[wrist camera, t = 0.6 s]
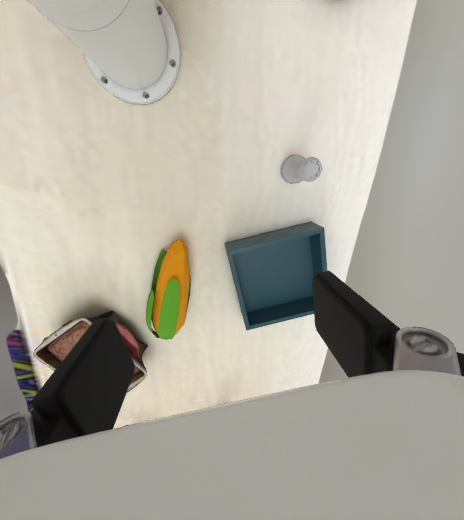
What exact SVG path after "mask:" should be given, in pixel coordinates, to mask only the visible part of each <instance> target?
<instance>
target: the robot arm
mask: <svg viewBox="0 0 464 520" xmlns="http://www.w3.org/2000/svg"><path fill="white" fill-rule="evenodd" d="M28 1H29V2H30V3H31V4H32V5H33V6H34V7H35V8H36V9H37V10H38V11H39V12H40V13H41V14H42V15H43V16H45V17H46V18H47V19H48V20H49V21H50V22H51V23H52V24H53V25H54V26H55V27H56V28H57V29H58V30H60V31H61V32H62V33H63V34H64V35H65V36H66V37H67V38H68V39H69V40H70V41H71V42H72V43H74V44H75V45H76V46H77V47H78V48H79V49H80V50H81V51H82V52H83V55H84V58H85V60H86V62H87V65H88V67H89V69H90V70H91V72H92V74H93V75H94V77H95V78H96V79H97V80H98V82H99V83H100V84H101V85H102V86H103V87H104V88H105V89H106V90H107V91H109V92H110V93H111V94H113V95H114V96H115V97H117V98H119V99H121V100H123V101H125V102H128V103H132V104H149V103H153V102H155V101H157V100H159V99H161V98H162V97H163V96H165V95H166V94H167V92H168V91H169V90H170V89H171V88H172V86H173V84H174V82H175V80H176V78H177V74H178V71H179V65H180V47H179V41H178V36H177V33H176V29H175V26H174V24H173V22H172V19H171V17H170V15H169V14H168V12H167V10H166V9H165V7H164V6H163V5H162V4H161V2H160V1H159V0H28ZM159 12H161V13H162V14H160V15H158V13H159ZM172 64H175V67H172ZM106 80H108V82H107V83H105V81H106ZM146 95H148V96H149V98H148V99H146ZM312 285H313V300H314V315H315V326H316V329H317V331H318V333H319V334H320V336H321V337H322V339H323V340H324V342H325V343H326V345H327V346H328V348H329V349H330V351H331V352H332V354H333V355H334V357H335V358H336V360H337V361H338V363H339V364H340V366H341V367H342V369H343V370H344V372H345V373H346V375H347V376H348V378H345V379H339V380H335V381H330V382H325V383H320V384H315V385H310V386H305V387H301V388H296V389H291V390H287V391H282V392H277V393H273V394H268V395H263V396H259V397H254V398H249V399H245V400H240V401H236V402H231V403H227V404H222V405H218V406H213V407H208V408H204V409H199V410H195V411H190V412H186V413H181V414H177V415H173V416H168V417H164V418H159V419H155V420H150V421H146V422H142V423H137V424H133V425H128V426H124V427H120V428H115V429H113V427H114V424H115V422H116V419H117V416H118V414H119V411H120V408H121V406H122V403H123V401H124V398H125V395H126V393H127V390H128V387H129V385H130V382H131V379H132V377H133V374H134V371H135V365H134V362H133V360H132V358H131V356H130V353H129V351H128V349H127V347H126V345H125V343H124V341H123V338H122V336H121V334H120V332H119V330H118V328H117V325H116V323H115V322H114V321H113V320H110V319H109V318H105V319H101V320H96V321H94V322H93V323H92V324H91V325H90V326H89V328H88V329H87V330H86V332H85V333H84V334H83V335H82V337H81V338H80V339H79V341H78V342H77V343H76V344H75V346H74V347H73V348H72V350H71V351H70V352H69V353H68V355H67V356H66V357H65V359H64V360H63V361H62V362H61V364H60V365H59V366H58V368H57V369H56V370H55V371H54V373H53V374H52V375H51V377H50V378H49V379H48V380H47V382H46V383H45V384H44V385H43V387H42V388H41V389H40V391H39V392H38V393H37V394H36V396H35V397H34V398H33V400H32V401H31V402H30V403H31V404H32V405H33V407H34V409H33V410H32V412H31V413H30V412H27V411H23V412H18V413H15V414H13V415H11V416H9V417H7V418H5V419H3V420H2V421H0V520H464V354H461V353H457V352H456V348H455V346H454V345H453V343H452V342H451V341H450V340H449V339H448V338H447V337H445V336H443V335H442V334H440V333H438V332H436V331H433V330H430V329H427V328H422V327H406V328H402V329H400V328H399V327H397V326H396V325H395V324H394V323H392V322H391V321H390V320H389V319H387V318H386V317H385V316H384V315H383V314H381V313H380V312H379V311H378V310H377V309H375V308H374V307H373V306H372V305H371V304H369V303H368V302H367V301H365V299H363V298H362V297H361V296H360V295H358V294H357V293H356V292H354V291H353V290H352V289H351V288H350V287H348V286H347V285H346V284H345V283H344V282H342V281H341V280H340V279H339V278H338V277H336V276H335V275H334V274H333V273H331V272H330V271H325V272H320V273H316V275H315V277H313V278H312Z"/></svg>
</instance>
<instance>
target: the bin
mask: <svg viewBox="0 0 464 520" xmlns="http://www.w3.org/2000/svg"><path fill="white" fill-rule="evenodd" d="M225 246H226V251H227V255H228V259H229V263H230V267H231V271H232V275H233V279H234V283H235V287H236V291H237V295H238V299H239V303H240V307H241V311H242V315H243V319H244V323H245V327H246V330H250V329H254V328H258V327H262V326H266V325H270V324H274V323H278V322H282V321H286V320H290V319H294V318H298V317H302V316H306V315H310V314H314V300H313V285H312V278H313V277H315V275H316V273H320V272H325V271H327V263H326V249H325V235H324V228H323V227H321V226H319V225H317V224H315V223H313V222H308V223H304V224H300V225H296V226H292V227H288V228H283V229H279V230H275V231H271V232H267V233H263V234H259V235H255V236H251V237H247V238H243V239H239V240H235V241H231V242H227V243H225Z"/></svg>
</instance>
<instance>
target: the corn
mask: <svg viewBox="0 0 464 520" xmlns="http://www.w3.org/2000/svg"><path fill="white" fill-rule="evenodd" d="M189 296H190V274H189V264H188V253H187V247H186V245H185V243H184V242H183V241H182V240H177V241H176V242H174V243H173V244H172V245H171V246H170V248H169V250H168V252H167V254H166V251H165V250H162V251H161V253H160V255H159V257H158V260H157V263H156V266H155V270H154V275H153V281H152V288H151V292H150V294H149V297H148V301H147V308H146V322H147V325H148V328H149V330H150V331H151V332H152V333H153V334H154V335H155V336H156V337H157V338H161V339H172V338H173V337H174V335H176V334H177V332H178V331H179V330H180V329H181V327H182V326H183V325H184V322H185V318H186V312H187V307H188V302H189ZM151 320H152V322H153V326H154V328H155V331H156V332H155V331H154V330H153V329H152V328H151Z"/></svg>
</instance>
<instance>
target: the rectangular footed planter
mask: <svg viewBox="0 0 464 520" xmlns="http://www.w3.org/2000/svg"><path fill="white" fill-rule="evenodd" d="M105 318H109V319H110V320H113V321H114V322H115V323H116V325H117V328H118V330H119V332H120V334H121V336H122V338H123V341H124V343H125V345H126V347H127V349H128V351H129V353H130V356H131V358H132V360H133V362H134V365H135V371H134V374H133V377H132V379H131V382H130V385H129V387H128V390H127V392H129V391H130V390H132V389H133V388H134V387H136V386H137V385H138V384H139V383H140V382H141V381H142V380H144V379H145V377H146V375H147V372H146V368H145V366H144V364H143V361H142V354H143V353H144V351H145V350H146V348H147V347H148V345H142V344H140V343H139V342H137V341H136V338H135V337H134V336H133V334H132V333H131V331H130V330H129V329H127V328H126V327H125V326H124V325H123V324H122V323H121V322H120V321H119V320H118V319H117V317H116V316H115V314H114V313H113V311H110V312H107V313H104V314H102V315H99V316H97V317H93V318H86V317H84V318H79V319H75V320H71V321H69V322H67V323H66V324H64V325H63V326H62V327H61V328H59V329H58V330H57V331H55V332H54V333H52V334H51V335H50V336H49V337H46V338H44V340H43V342H42V343H41V344H40V345H39V346H38V347H37V348H36V349H35V350H34V352H33V355H34V357H35V358H37V359H38V360H39V361H40V362H42V363H43V364H45V365H47V366H48V367H49V368H51V369H52V370H54V371H55V370H56V369H57V368H58V366H59V365H60V364H61V362H62V361H63V360H64V359H65V357H66V356H67V355H68V353H69V352H70V351H71V350H72V348H73V347H74V346H75V344H76V343H77V342H78V341H79V339H80V338H81V337H82V335H83V334H84V333H85V332H86V330H87V329H88V328H89V326H90V325H91V324H92V323H93V322H94V321H96V320H101V319H105Z"/></svg>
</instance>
